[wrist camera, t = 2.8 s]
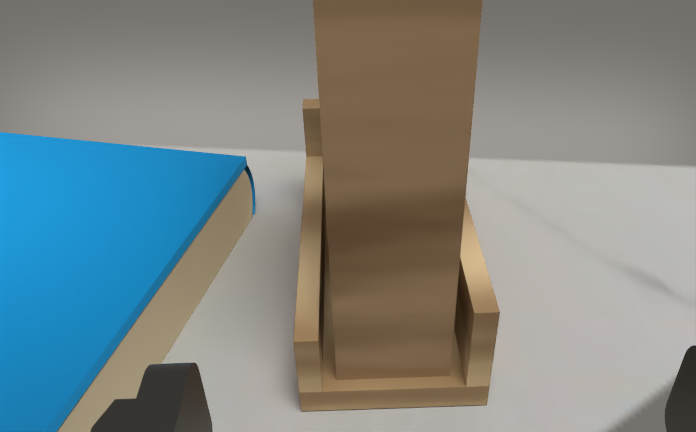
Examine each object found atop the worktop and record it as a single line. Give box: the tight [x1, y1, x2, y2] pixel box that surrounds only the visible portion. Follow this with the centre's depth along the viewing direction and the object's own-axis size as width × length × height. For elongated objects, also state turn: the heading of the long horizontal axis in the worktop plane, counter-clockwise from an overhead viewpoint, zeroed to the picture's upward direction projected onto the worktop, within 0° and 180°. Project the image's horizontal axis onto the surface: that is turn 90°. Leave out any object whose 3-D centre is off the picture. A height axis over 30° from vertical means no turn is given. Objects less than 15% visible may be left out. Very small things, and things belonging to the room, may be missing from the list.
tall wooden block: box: [313, 0, 482, 380], centre depth 21 cm, size 6×4×16 cm, turn 1°
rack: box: [294, 99, 500, 411], centre depth 27 cm, size 13×7×6 cm, turn 1°
